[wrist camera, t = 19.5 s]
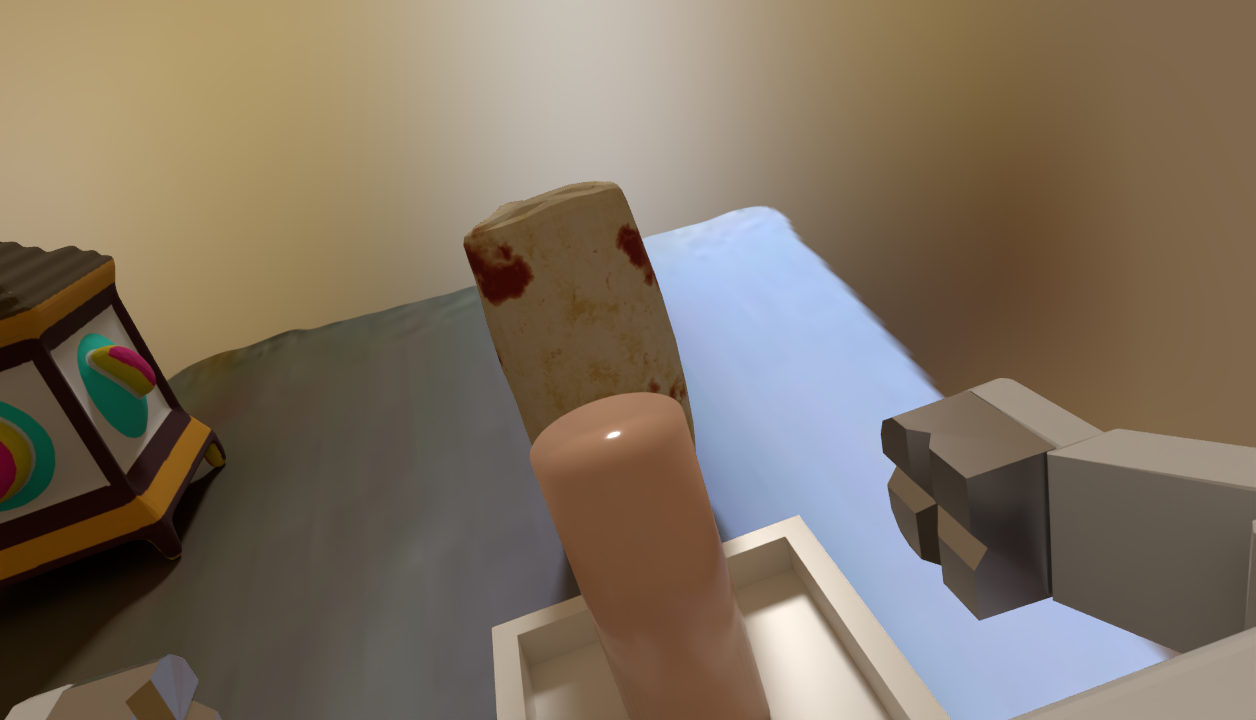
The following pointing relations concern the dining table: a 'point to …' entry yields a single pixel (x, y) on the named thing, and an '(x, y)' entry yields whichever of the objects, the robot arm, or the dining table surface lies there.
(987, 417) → the robot arm
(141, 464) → the decorative lantern
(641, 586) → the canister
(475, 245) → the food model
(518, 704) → the bin
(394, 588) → the dining table surface
